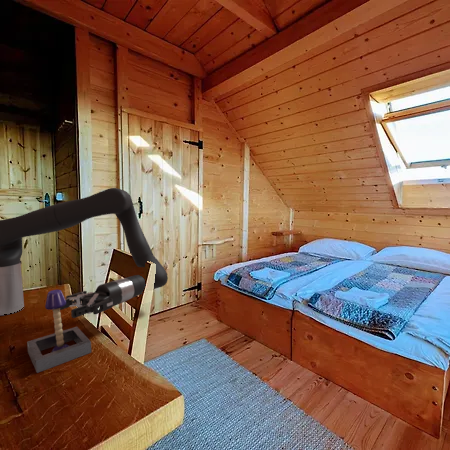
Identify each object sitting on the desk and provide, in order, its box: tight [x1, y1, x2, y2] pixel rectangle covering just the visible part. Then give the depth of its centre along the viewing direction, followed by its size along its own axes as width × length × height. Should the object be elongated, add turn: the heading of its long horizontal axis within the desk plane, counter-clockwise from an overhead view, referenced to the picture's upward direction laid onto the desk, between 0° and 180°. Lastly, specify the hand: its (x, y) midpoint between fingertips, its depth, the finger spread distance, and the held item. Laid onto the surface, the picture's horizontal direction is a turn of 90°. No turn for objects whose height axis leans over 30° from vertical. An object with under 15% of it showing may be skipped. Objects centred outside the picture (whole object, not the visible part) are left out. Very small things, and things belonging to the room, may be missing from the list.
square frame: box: [26, 326, 92, 374], centre depth 71 cm, size 12×12×3 cm
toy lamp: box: [44, 289, 70, 352], centre depth 71 cm, size 5×5×17 cm
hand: (63, 310), depth 71 cm, fingers open, 8 cm apart
